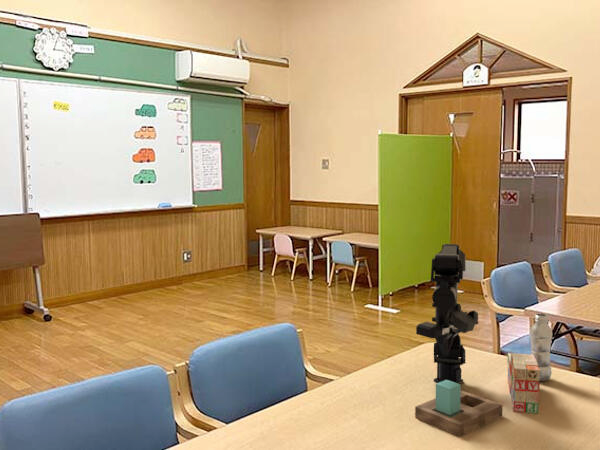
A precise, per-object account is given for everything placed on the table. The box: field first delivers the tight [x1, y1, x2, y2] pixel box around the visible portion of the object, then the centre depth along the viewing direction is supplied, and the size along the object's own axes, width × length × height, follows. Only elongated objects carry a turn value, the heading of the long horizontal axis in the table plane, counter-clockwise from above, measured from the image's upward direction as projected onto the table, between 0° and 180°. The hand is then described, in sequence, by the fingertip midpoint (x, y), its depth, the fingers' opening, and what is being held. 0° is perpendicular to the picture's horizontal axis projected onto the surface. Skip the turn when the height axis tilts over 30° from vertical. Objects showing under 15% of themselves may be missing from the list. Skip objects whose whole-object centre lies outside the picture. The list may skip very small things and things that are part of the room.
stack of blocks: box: [507, 352, 540, 414], centre depth 164 cm, size 21×6×12 cm, turn 165°
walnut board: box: [414, 390, 503, 438], centre depth 152 cm, size 14×18×3 cm
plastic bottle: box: [529, 313, 553, 382], centre depth 176 cm, size 6×7×20 cm
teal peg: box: [435, 380, 462, 418], centre depth 149 cm, size 4×4×10 cm
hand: (445, 355), depth 162 cm, fingers closed
